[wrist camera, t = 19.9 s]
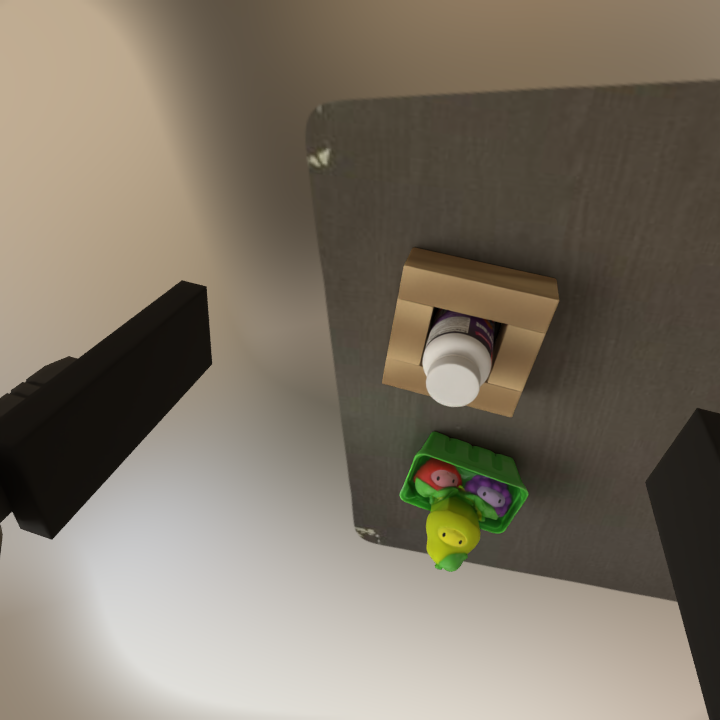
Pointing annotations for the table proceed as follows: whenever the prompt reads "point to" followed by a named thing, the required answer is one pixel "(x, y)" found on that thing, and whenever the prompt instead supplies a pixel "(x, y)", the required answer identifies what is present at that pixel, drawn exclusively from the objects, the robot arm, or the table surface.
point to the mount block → (476, 298)
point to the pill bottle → (457, 357)
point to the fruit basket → (461, 495)
